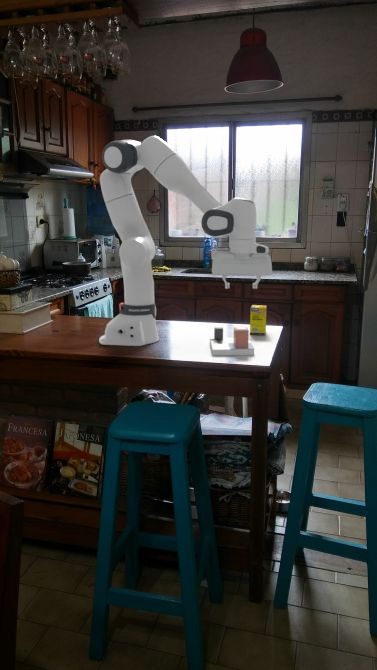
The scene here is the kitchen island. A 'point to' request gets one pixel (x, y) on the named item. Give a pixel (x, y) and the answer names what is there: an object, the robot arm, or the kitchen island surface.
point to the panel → (229, 347)
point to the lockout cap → (241, 337)
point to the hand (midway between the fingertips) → (241, 288)
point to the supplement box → (258, 320)
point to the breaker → (218, 333)
